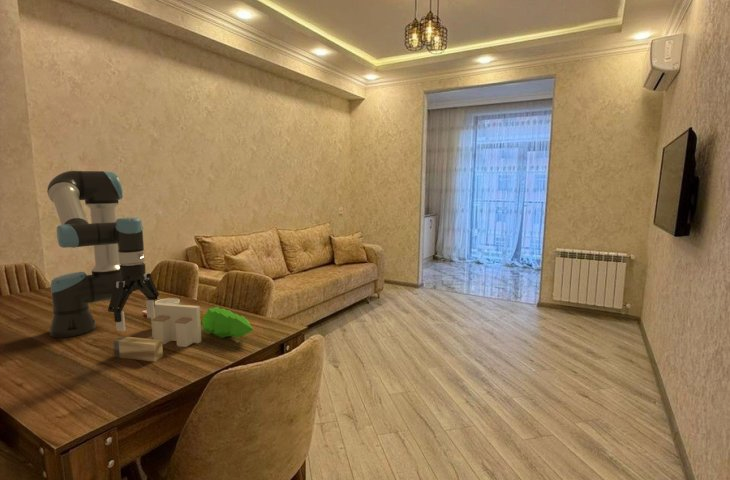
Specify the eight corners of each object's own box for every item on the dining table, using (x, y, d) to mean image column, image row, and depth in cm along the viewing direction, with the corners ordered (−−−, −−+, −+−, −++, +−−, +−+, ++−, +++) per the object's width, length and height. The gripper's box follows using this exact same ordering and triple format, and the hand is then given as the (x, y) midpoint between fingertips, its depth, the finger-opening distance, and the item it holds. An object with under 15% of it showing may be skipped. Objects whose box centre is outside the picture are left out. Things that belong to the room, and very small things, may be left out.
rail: (154, 361, 135) (153, 344, 134) (114, 356, 138) (113, 340, 138) (163, 356, 139) (162, 340, 138) (124, 352, 142) (122, 336, 141)
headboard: (144, 342, 151) (142, 307, 149) (156, 336, 157) (153, 302, 155) (191, 347, 147) (189, 311, 145) (201, 341, 153) (199, 306, 151)
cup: (170, 331, 162) (169, 305, 161) (149, 329, 164) (147, 304, 163) (186, 323, 172) (184, 298, 170) (166, 321, 174) (164, 297, 172)
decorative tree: (208, 298, 166) (258, 308, 150) (219, 320, 171) (268, 332, 155) (186, 315, 158) (236, 328, 142) (198, 337, 163) (248, 352, 147)
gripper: (111, 271, 121) (117, 337, 124) (167, 257, 145) (170, 313, 148) (90, 270, 123) (96, 336, 125) (149, 256, 147) (153, 312, 150)
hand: (136, 323), depth 137 cm, fingers open, 13 cm apart
